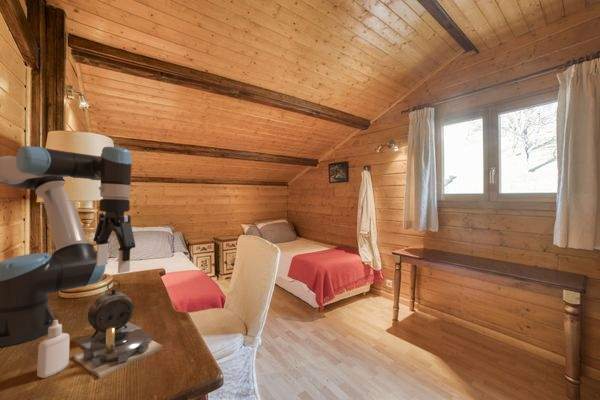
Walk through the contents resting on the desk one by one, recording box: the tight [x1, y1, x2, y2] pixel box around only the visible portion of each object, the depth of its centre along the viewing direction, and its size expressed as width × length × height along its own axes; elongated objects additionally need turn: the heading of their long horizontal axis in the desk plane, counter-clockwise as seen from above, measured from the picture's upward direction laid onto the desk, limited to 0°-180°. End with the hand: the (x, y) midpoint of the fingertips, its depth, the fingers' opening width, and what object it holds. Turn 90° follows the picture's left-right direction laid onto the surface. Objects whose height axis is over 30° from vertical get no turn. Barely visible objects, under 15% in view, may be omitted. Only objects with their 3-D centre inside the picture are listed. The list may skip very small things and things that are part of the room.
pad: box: [75, 321, 143, 350], centre depth 79 cm, size 8×14×1 cm, turn 149°
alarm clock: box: [87, 279, 135, 338], centre depth 79 cm, size 11×5×16 cm, turn 141°
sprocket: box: [83, 327, 153, 366], centre depth 70 cm, size 15×15×8 cm
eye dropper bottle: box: [36, 319, 71, 379], centre depth 62 cm, size 4×6×12 cm
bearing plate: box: [72, 339, 164, 379], centre depth 70 cm, size 15×15×1 cm
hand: (112, 268), depth 80 cm, fingers open, 13 cm apart
